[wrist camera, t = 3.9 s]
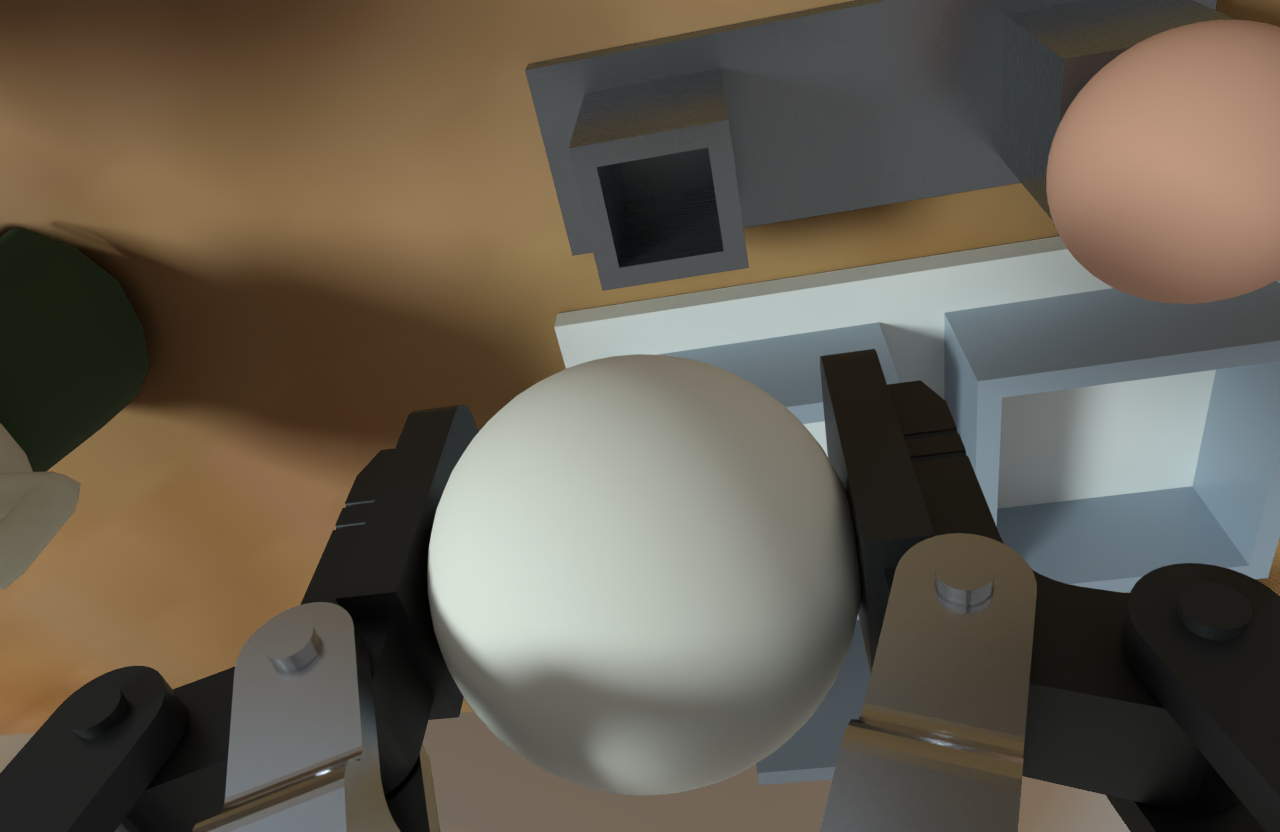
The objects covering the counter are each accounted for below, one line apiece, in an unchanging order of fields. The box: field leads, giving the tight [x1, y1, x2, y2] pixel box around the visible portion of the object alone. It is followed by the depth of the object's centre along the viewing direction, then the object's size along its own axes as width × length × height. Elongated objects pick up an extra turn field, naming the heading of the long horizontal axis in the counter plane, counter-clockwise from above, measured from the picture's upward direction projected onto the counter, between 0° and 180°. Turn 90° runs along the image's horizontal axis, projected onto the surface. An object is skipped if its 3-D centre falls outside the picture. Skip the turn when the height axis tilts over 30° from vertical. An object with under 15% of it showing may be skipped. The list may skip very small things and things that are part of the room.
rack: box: [554, 236, 1280, 620], centre depth 27 cm, size 11×20×4 cm, turn 101°
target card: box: [756, 620, 871, 785], centre depth 29 cm, size 1×13×8 cm, turn 102°
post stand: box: [525, 0, 1237, 290], centre depth 21 cm, size 5×16×5 cm, turn 101°
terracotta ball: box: [1046, 20, 1280, 304], centre depth 17 cm, size 5×5×5 cm
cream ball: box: [427, 354, 861, 795], centre depth 11 cm, size 5×5×5 cm
